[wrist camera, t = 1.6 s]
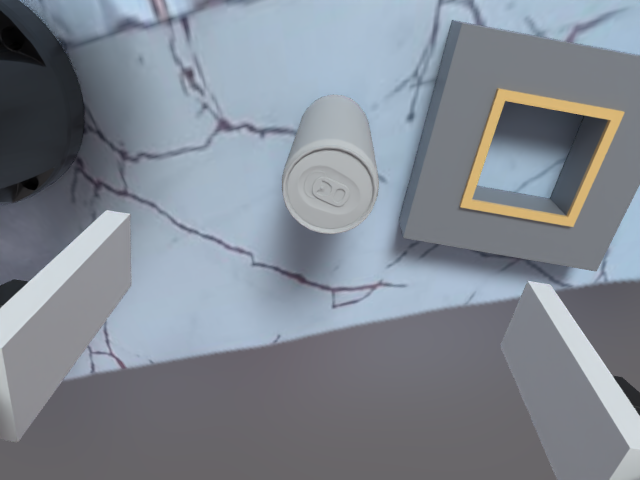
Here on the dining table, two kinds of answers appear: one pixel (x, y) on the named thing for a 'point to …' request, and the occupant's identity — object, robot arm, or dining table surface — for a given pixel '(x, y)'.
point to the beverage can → (331, 167)
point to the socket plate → (477, 132)
